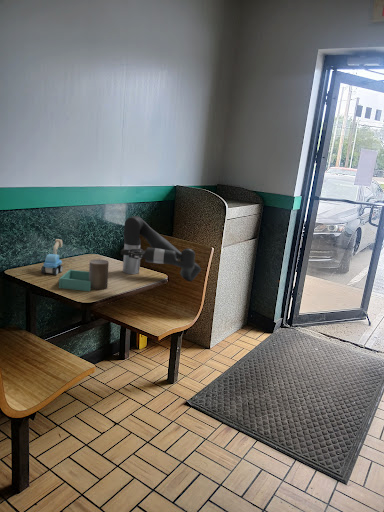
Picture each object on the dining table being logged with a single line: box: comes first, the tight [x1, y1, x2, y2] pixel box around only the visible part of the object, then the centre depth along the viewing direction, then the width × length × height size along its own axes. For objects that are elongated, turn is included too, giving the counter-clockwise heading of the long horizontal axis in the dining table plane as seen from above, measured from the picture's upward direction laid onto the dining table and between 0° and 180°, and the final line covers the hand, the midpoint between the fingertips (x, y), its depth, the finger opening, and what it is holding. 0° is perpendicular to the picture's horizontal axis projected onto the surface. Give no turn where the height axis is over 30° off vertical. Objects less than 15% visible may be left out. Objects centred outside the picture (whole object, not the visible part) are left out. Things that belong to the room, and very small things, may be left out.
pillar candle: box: [88, 258, 110, 291], centre depth 218 cm, size 10×10×15 cm
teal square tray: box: [58, 268, 91, 292], centre depth 219 cm, size 16×17×5 cm
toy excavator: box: [40, 238, 64, 276], centre depth 235 cm, size 9×17×17 cm, turn 174°
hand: (121, 251), depth 215 cm, fingers closed
